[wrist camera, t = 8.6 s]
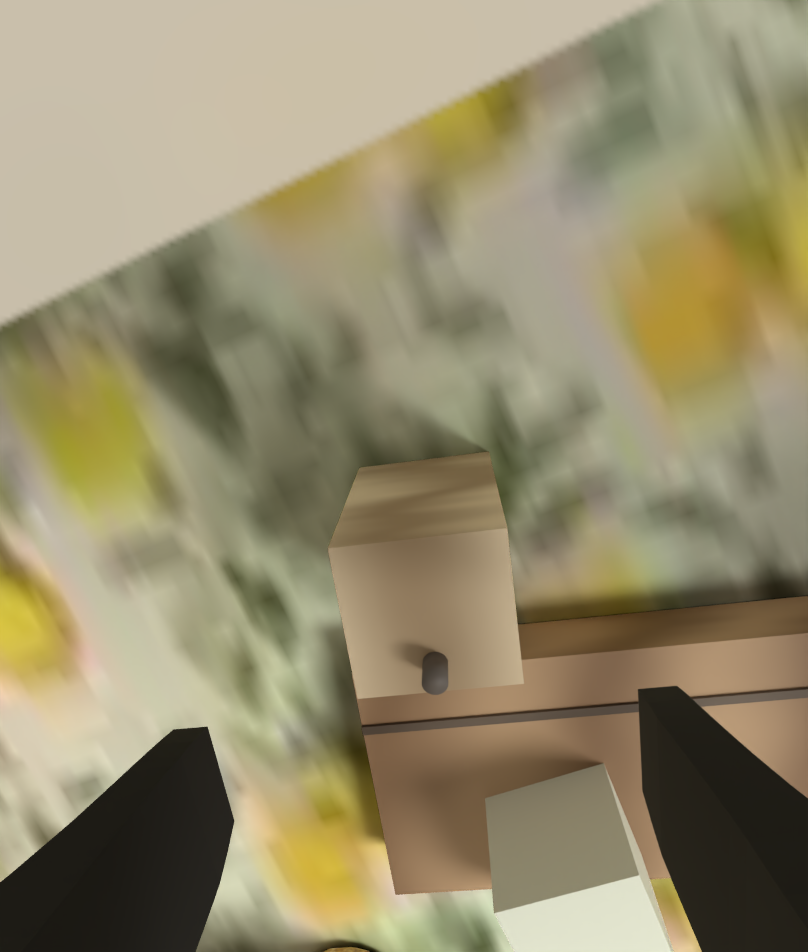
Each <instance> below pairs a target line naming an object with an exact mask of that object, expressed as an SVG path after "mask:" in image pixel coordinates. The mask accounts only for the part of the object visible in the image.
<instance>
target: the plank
mask: <svg viewBox="0 0 808 952" xmlns="http://www.w3.org/2000/svg"><path fill="white" fill-rule="evenodd" d="M518 633H519V642H520V651H521V661H522V670H523V679H524V684H517V685H506V686H495V687H484V688H473V689H462V690H451V691H445V692H444V693H442V694H439V695H432V694H429V693H418V694H407V695H396V696H385V697H374V698H363V699H357V703H358V708H359V713H360V718H361V724H362V732H363V735H364V739H365V744H366V749H367V754H368V759H369V764H370V769H371V774H372V779H373V784H374V789H375V794H376V799H377V804H378V809H379V814H380V819H381V824H382V829H383V834H384V839H385V844H386V849H387V854H388V859H389V864H390V869H391V874H392V879H393V884H394V889H395V894H396V895H399V894H415V893H431V892H448V891H464V890H481V889H492V881H491V868H490V856H489V843H488V830H487V818H486V805H485V798H488V797H491V796H494V795H498V794H501V793H505V792H508V791H511V790H515V789H518V788H521V787H525V786H528V785H532V784H535V783H538V782H542V781H545V780H549V779H552V778H555V777H559V776H562V775H566V774H569V773H572V772H576V771H579V770H582V769H586V768H589V767H593V766H596V765H599V764H603V763H604V765H605V768H606V770H607V773H608V775H609V777H610V780H611V782H612V785H613V787H614V789H615V792H616V794H617V797H618V799H619V802H620V804H621V806H622V809H623V811H624V814H625V816H626V818H627V821H628V823H629V826H630V828H631V831H632V833H633V835H634V838H635V840H636V843H637V845H638V847H639V850H640V852H641V855H642V858H643V861H644V864H645V867H646V870H647V873H648V876H649V879H662V878H671V877H670V874H669V872H668V870H667V867H666V865H665V862H664V860H663V857H662V855H661V851H660V848H659V845H658V842H657V838H656V835H655V832H654V829H653V826H652V822H651V819H650V815H649V812H648V808H647V805H646V802H645V798H644V795H643V791H642V770H641V748H640V726H639V704H638V689H644V688H656V687H667V686H678V687H679V688H680V689H682V690H683V691H684V692H685V693H686V694H687V695H689V696H690V697H691V698H692V699H693V700H694V701H695V702H696V703H697V704H698V705H699V706H701V707H702V708H703V709H704V710H705V711H706V712H707V713H708V714H709V715H710V716H711V717H713V718H714V719H715V720H716V721H717V722H718V723H719V724H720V725H721V726H723V727H724V728H725V729H726V730H727V731H728V732H729V733H730V734H732V735H733V736H734V737H735V738H736V739H737V740H738V741H739V742H741V743H742V744H743V745H744V746H745V747H746V748H747V749H749V750H750V751H751V752H752V753H753V754H754V755H756V756H757V757H758V758H759V759H760V760H762V761H763V762H764V763H765V764H766V765H768V766H769V767H770V768H771V769H772V770H774V771H775V772H776V773H777V774H778V775H780V776H781V777H782V778H783V779H784V780H786V781H787V782H788V783H789V784H790V785H792V786H793V787H794V788H795V789H797V790H798V791H799V792H801V793H802V794H803V795H804V796H806V797H807V798H808V596H802V597H792V598H782V599H771V600H761V601H751V602H741V603H731V604H721V605H711V606H701V607H691V608H681V609H671V610H660V611H650V612H640V613H630V614H620V615H610V616H600V617H590V618H580V619H570V620H559V621H549V622H539V623H529V624H519V625H518ZM352 678H353V674H352ZM353 683H354V679H353ZM354 688H355V684H354ZM355 693H356V689H355ZM356 698H357V694H356Z"/></svg>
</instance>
